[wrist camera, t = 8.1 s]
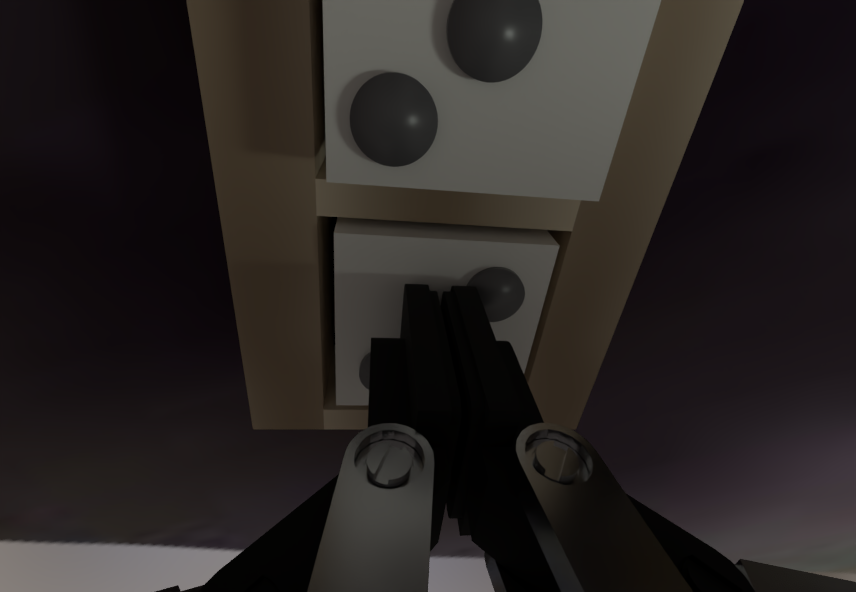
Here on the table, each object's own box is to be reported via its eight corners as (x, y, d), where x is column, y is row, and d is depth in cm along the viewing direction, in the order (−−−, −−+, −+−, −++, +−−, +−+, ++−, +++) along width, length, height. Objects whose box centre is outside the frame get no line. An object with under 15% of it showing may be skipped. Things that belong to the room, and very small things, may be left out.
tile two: (522, 201, 12) (562, 249, 10) (492, 342, 15) (516, 411, 12) (344, 189, 12) (332, 236, 9) (344, 338, 14) (335, 410, 11)
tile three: (610, -109, 8) (726, -183, 5) (547, 161, 11) (603, 205, 8) (339, -154, 7) (314, -264, 5) (341, 144, 10) (325, 185, 7)
